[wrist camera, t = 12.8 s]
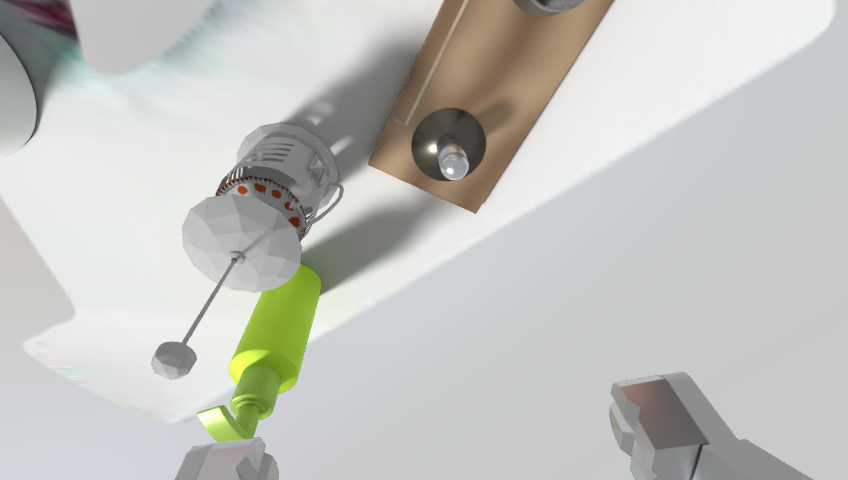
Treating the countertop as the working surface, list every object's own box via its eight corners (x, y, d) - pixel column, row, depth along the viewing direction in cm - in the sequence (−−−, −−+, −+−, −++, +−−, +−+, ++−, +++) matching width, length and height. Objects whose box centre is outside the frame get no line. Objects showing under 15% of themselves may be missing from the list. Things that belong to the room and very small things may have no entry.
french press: (214, 145, 39) (-7, 334, 18) (325, 98, 38) (225, 244, 16) (271, 229, 44) (150, 455, 23) (371, 190, 43) (341, 396, 21)
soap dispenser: (301, 248, 46) (242, 405, 29) (330, 294, 49) (292, 458, 32) (254, 265, 46) (168, 426, 29) (285, 309, 50) (225, 477, 33)
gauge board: (368, 160, 41) (368, 165, 40) (517, -157, 29) (521, -163, 28) (474, 208, 44) (476, 214, 43) (644, -60, 33) (652, -62, 32)
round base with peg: (398, 162, 40) (398, 189, 34) (433, 94, 37) (438, 112, 31) (462, 191, 42) (471, 221, 36) (499, 129, 39) (515, 152, 33)
